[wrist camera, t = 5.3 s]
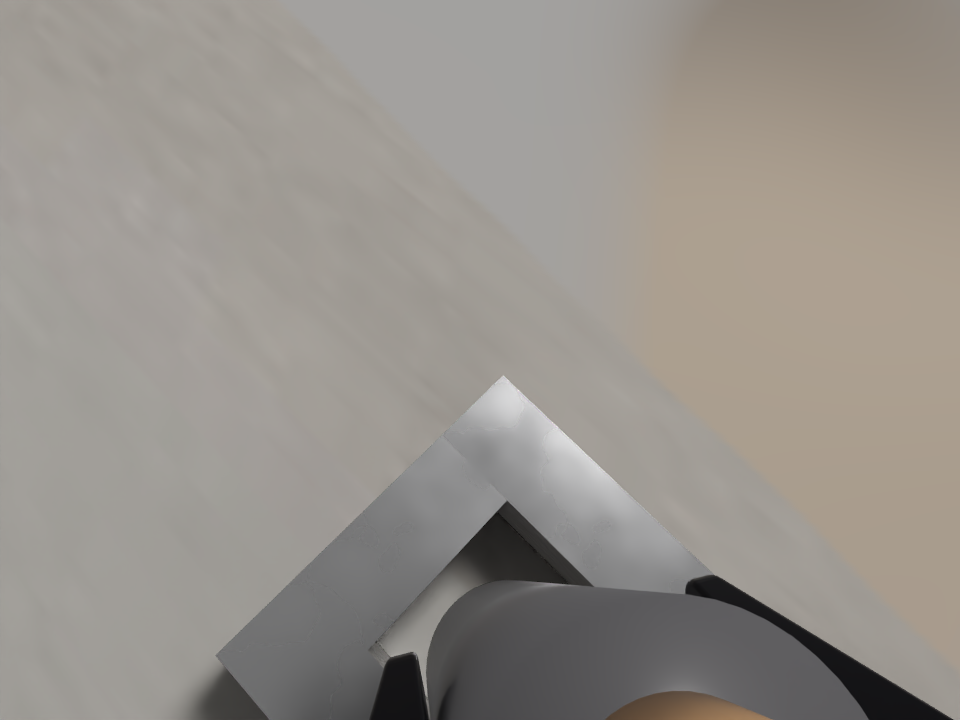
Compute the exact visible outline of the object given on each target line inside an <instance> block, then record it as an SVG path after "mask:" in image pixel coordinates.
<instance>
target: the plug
mask: <svg viewBox="0 0 960 720" xmlns="http://www.w3.org/2000/svg"><path fill="white" fill-rule="evenodd" d="M426 678H427V691H428V700H429V710H430V719H431V720H869V719H868V718H867V716H866V714H865V713H864V711H863V710H862V708H861V707H860V705H859V704H858V703H857V701H856V700H855V699H854V697H853V696H852V695H851V694H850V692H849V691H848V690H847V689H846V687H845V686H844V685H843V684H842V682H841V681H840V680H839V679H838V678H837V676H836V675H835V674H834V673H833V672H832V671H831V670H830V669H829V668H828V667H827V666H826V665H825V664H824V663H823V662H822V661H821V660H820V659H819V658H818V657H817V656H816V655H815V654H813V653H812V652H811V651H810V650H809V649H807V648H806V647H805V646H804V645H802V644H801V643H800V642H799V641H798V640H796V639H795V638H794V637H793V636H791V635H790V634H788V633H786V632H785V631H783V630H782V629H780V628H779V627H777V626H775V625H774V624H772V623H771V622H769V621H768V620H766V619H764V618H761V617H759V616H757V615H755V614H753V613H751V612H749V611H747V610H745V609H743V608H740V607H737V606H734V605H731V604H728V603H725V602H721V601H718V600H715V599H710V598H704V597H699V596H693V595H687V594H675V593H663V592H651V591H639V590H627V589H615V588H603V587H591V586H578V585H566V584H554V583H542V582H530V581H518V580H501V581H494V582H490V583H486V584H483V585H481V586H478V587H476V588H474V589H472V590H470V591H469V592H467V593H466V594H464V595H463V596H462V597H460V598H459V599H458V600H457V601H456V602H455V603H454V604H453V605H452V606H451V607H450V608H449V609H448V611H447V612H446V613H445V614H444V616H443V617H442V619H441V621H440V622H439V624H438V626H437V628H436V630H435V632H434V635H433V637H432V640H431V644H430V647H429V651H428V657H427V667H426Z"/></svg>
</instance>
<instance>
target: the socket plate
mask: <svg viewBox="0 0 960 720" xmlns="http://www.w3.org/2000/svg"><path fill="white" fill-rule="evenodd" d="M496 512H498V513H499V514H500V515H501V516H502V517H503V518H504V519H505V520H506V521H507V522H508V523H509V524H510V525H511V526H512V527H513V528H514V529H515V530H516V531H517V532H518V533H519V534H520V535H521V536H522V537H523V538H524V539H525V540H526V541H527V542H528V543H529V544H530V545H531V546H532V547H533V548H534V549H535V550H536V551H537V552H538V553H539V554H540V555H541V556H542V557H543V558H544V559H545V560H546V561H547V562H548V563H549V564H550V565H551V566H552V567H553V568H554V569H555V570H556V571H557V572H558V573H559V574H560V575H561V576H562V577H563V578H564V579H565V580H566V581H567V582H568V583H569V584H570V585H578V586H591V587H603V588H615V589H627V590H639V591H651V592H663V593H675V594H685V588H686V584H687V583H688V581H689V580H691V579H694V578H698V577H702V576H706V575H714V574H713V573H712V572H711V571H710V570H709V569H708V568H707V567H705V566H704V565H703V564H702V563H701V562H700V561H699V560H698V559H697V558H696V557H695V556H694V555H693V554H692V553H691V552H690V551H688V550H687V549H686V548H685V547H684V546H683V545H682V544H681V543H680V542H679V541H678V540H677V539H676V538H675V537H674V536H673V535H672V534H670V533H669V532H668V531H667V530H666V529H665V528H664V527H663V526H662V525H661V524H660V523H659V522H658V521H657V520H656V519H655V518H654V517H652V516H651V515H650V514H649V513H648V512H647V511H646V510H645V509H644V508H643V507H642V506H641V505H640V504H639V503H638V502H637V501H635V500H634V499H633V498H632V497H631V496H630V495H629V494H628V493H627V492H626V491H625V490H624V489H623V488H622V487H621V486H620V485H619V484H617V483H616V482H615V481H614V480H613V479H612V478H611V477H610V476H609V475H608V474H607V473H606V472H605V471H604V470H603V469H602V468H601V467H599V466H598V465H597V464H596V463H595V462H594V461H593V460H592V459H591V458H590V457H589V456H588V455H587V454H586V453H585V452H584V451H582V450H581V449H580V448H579V447H578V446H577V445H576V444H575V443H574V442H573V441H572V440H571V439H570V438H569V437H568V436H567V435H566V434H564V433H563V432H562V431H561V430H560V429H559V428H558V427H557V426H556V425H555V424H554V423H553V422H552V421H551V420H550V419H549V418H548V417H546V416H545V415H544V414H543V413H542V412H541V411H540V410H539V409H538V408H537V407H536V406H535V405H534V404H533V403H532V402H531V401H529V400H528V399H527V398H526V397H525V396H524V395H523V394H522V393H521V392H520V391H519V390H518V389H517V388H516V387H515V386H514V385H513V384H511V383H510V382H509V381H508V380H507V379H506V378H505V377H504V376H502V377H501V378H500V379H499V380H498V381H497V382H496V383H495V384H494V385H493V386H492V387H491V388H490V389H489V390H488V391H487V392H486V393H484V394H483V395H482V396H481V397H480V398H479V399H478V400H477V401H476V402H475V403H474V404H473V405H472V406H471V407H470V408H469V409H468V410H467V411H466V412H465V413H464V414H463V415H462V416H461V417H460V418H459V419H458V420H457V421H456V422H455V423H454V424H453V425H452V426H451V427H450V428H449V429H448V430H446V431H445V432H444V433H443V434H442V435H441V436H440V437H439V438H438V439H437V440H436V441H435V442H434V443H433V444H432V445H431V446H430V447H429V448H428V449H427V450H426V451H425V452H424V453H423V454H422V455H421V456H420V457H419V458H418V459H417V460H416V461H415V462H414V463H413V464H412V465H411V466H410V467H408V468H407V469H406V470H405V471H404V472H403V473H402V474H401V475H400V476H399V477H398V478H397V479H396V480H395V481H394V482H393V483H392V484H391V485H390V486H389V487H388V488H387V489H386V490H385V491H384V492H383V493H382V494H381V495H380V496H379V497H378V498H377V499H376V500H375V501H374V502H373V503H372V504H371V505H369V506H368V507H367V508H366V509H365V510H364V511H363V512H362V513H361V514H360V515H359V516H358V517H357V518H356V519H355V520H354V521H353V522H352V523H351V524H350V525H349V526H348V527H347V528H346V529H345V530H344V531H343V532H342V533H341V534H340V535H339V536H338V537H337V538H336V539H335V540H334V541H333V542H331V543H330V544H329V545H328V546H327V547H326V548H325V549H324V550H323V551H322V552H321V553H320V554H319V555H318V556H317V557H316V558H315V559H314V560H313V561H312V562H311V563H310V564H309V565H308V566H307V567H306V568H305V569H304V570H303V571H302V572H301V573H300V574H299V575H298V576H297V577H296V578H295V579H293V580H292V581H291V582H290V583H289V584H288V585H287V586H286V587H285V588H284V589H283V590H282V591H281V592H280V593H279V594H278V595H277V596H276V597H275V598H274V599H273V600H272V601H271V602H270V603H269V604H268V605H267V606H266V607H265V608H264V609H263V610H262V611H261V612H260V613H259V614H258V615H257V616H255V617H254V618H253V619H252V620H251V621H250V622H249V623H248V624H247V625H246V626H245V627H244V628H243V629H242V630H241V631H240V632H239V633H238V634H237V635H236V636H235V637H234V638H233V639H232V640H231V641H230V642H229V643H228V644H227V645H226V646H225V647H224V648H223V649H222V650H221V651H220V652H219V653H217V654H216V655H215V656H216V657H217V658H218V659H219V660H220V661H221V663H222V664H223V665H224V666H225V667H226V669H227V670H228V671H229V672H230V673H231V675H232V676H233V677H234V678H235V679H236V681H237V682H238V683H239V684H240V685H241V686H242V688H243V689H244V690H245V691H246V692H247V694H248V695H249V696H250V697H251V698H252V700H253V701H254V702H255V703H256V704H257V706H258V707H259V708H260V709H261V710H262V711H263V713H264V714H265V715H266V716H267V717H268V719H269V720H369V717H370V714H371V710H372V707H373V704H374V700H375V697H376V693H377V690H378V686H379V683H380V680H381V676H382V673H383V669H384V666H385V664H386V662H387V660H388V659H389V658H390V656H389V655H388V654H387V653H386V652H385V651H384V650H383V649H382V648H381V646H380V645H379V644H378V643H377V642H376V641H377V640H378V639H379V638H380V637H381V636H382V634H383V633H384V632H385V631H386V630H387V629H388V628H389V627H390V626H391V625H392V624H393V623H394V622H395V620H396V619H397V618H398V617H399V616H400V615H401V614H402V613H403V612H404V611H405V610H406V609H407V608H408V606H409V605H410V604H411V603H412V602H413V601H414V600H415V599H416V598H417V597H418V596H419V595H420V594H421V592H422V591H423V590H424V589H425V588H426V587H427V586H428V585H429V584H430V583H431V582H432V581H433V580H434V578H435V577H436V576H437V575H438V574H439V573H440V572H441V571H442V570H443V569H444V568H445V567H446V566H447V564H448V563H449V562H450V561H451V560H452V559H453V558H454V557H455V556H456V555H457V554H458V553H459V552H460V550H461V549H462V548H463V547H464V546H465V545H466V544H467V543H468V542H469V541H470V540H471V539H472V538H473V537H474V535H475V534H476V533H477V532H478V531H479V530H480V529H481V528H482V527H483V526H484V525H485V524H486V523H487V521H488V520H489V519H490V518H491V517H492V516H493V515H494V514H495V513H496ZM425 698H426V703H427V709H428V715H429V720H431V719H430V710H429V700H428V698H427V697H426V696H425Z"/></svg>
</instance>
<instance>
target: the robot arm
mask: <svg viewBox="0 0 960 720" xmlns="http://www.w3.org/2000/svg"><path fill="white" fill-rule="evenodd" d="M685 594H687V595H693V596H699V597H704V598H710V599H715V600H718V601H721V602H725V603H728V604H731V605H734V606H737V607H740V608H743V609H745V610H747V611H749V612H751V613H753V614H755V615H757V616H759V617H761V618H764V619H766V620H768V621H769V622H771V623H772V624H774V625H775V626H777V627H779V628H780V629H782V630H783V631H785V632H786V633H788V634H790V635H791V636H793V637H794V638H795V639H796V640H798V641H799V642H800V643H801V644H802V645H804V646H805V647H806V648H807V649H809V650H810V651H811V652H812V653H813V654H815V655H816V656H817V657H818V658H819V659H820V660H821V661H822V662H823V663H824V664H825V665H826V666H827V667H828V668H829V669H830V670H831V671H832V672H833V673H834V674H835V675H836V676H837V678H838V679H839V680H840V681H841V682H842V684H843V685H844V686H845V687H846V689H847V690H848V691H849V692H850V694H851V695H852V696H853V697H854V699H855V700H856V701H857V703H858V704H859V705H860V707H861V708H862V710H863V711H864V713H865V714H866V716H867V718H868V719H869V720H953V719H952V718H950V717H948V716H947V715H945V714H943V713H942V712H940V711H938V710H937V709H935V708H934V707H932V706H930V705H929V704H927V703H925V702H924V701H922V700H920V699H919V698H917V697H915V696H914V695H912V694H911V693H909V692H907V691H906V690H904V689H902V688H901V687H899V686H897V685H896V684H894V683H892V682H891V681H889V680H888V679H886V678H884V677H883V676H881V675H879V674H878V673H876V672H874V671H873V670H871V669H869V668H868V667H866V666H865V665H863V664H861V663H860V662H858V661H856V660H855V659H853V658H851V657H850V656H848V655H846V654H845V653H843V652H842V651H840V650H838V649H837V648H835V647H833V646H832V645H830V644H828V643H827V642H825V641H823V640H822V639H820V638H819V637H817V636H815V635H814V634H812V633H810V632H809V631H807V630H805V629H804V628H802V627H800V626H799V625H797V624H796V623H794V622H792V621H791V620H789V619H787V618H786V617H784V616H782V615H781V614H779V613H777V612H776V611H774V610H773V609H771V608H769V607H768V606H766V605H764V604H763V603H761V602H759V601H758V600H756V599H755V598H753V597H751V596H750V595H748V594H746V593H745V592H743V591H741V590H740V589H738V588H736V587H735V586H733V585H732V584H730V583H728V582H727V581H725V580H723V579H722V578H720V577H718V576H715V575H706V576H702V577H698V578H694V579H691V580H689V581H688V583H687V584H686V588H685ZM369 720H429V715H428V709H427V703H426V698H425V692H424V687H423V682H422V676H421V671H420V666H419V661H418V656H417V654H416V653H414V652H410V653H406V654H402V655H398V656H394V657H391V658H389V659H388V660H387V662H386V664H385V666H384V669H383V673H382V676H381V680H380V683H379V686H378V690H377V693H376V697H375V700H374V704H373V707H372V710H371V714H370V717H369Z"/></svg>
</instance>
